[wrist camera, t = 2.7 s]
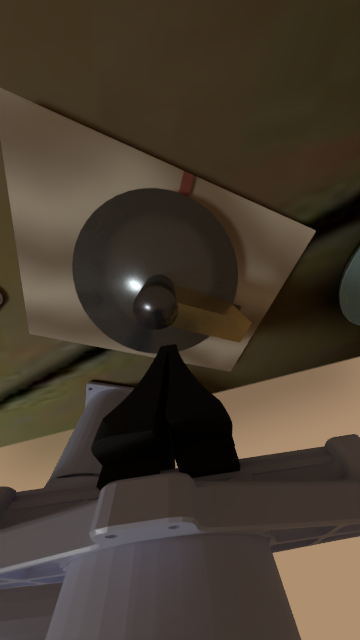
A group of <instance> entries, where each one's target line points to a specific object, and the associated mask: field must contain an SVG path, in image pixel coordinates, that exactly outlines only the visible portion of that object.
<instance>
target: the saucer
mask: <svg viewBox="0 0 360 640" xmlns="http://www.w3.org/2000/svg"><path fill="white" fill-rule="evenodd" d="M339 303H340V307H341V310H342V313H343V314H344V316H345V317H346V318H347V319H348V320H349V321H350V322H352V323H354V324H357V325H360V245H359V247H358V248H357V249H356V250H355V252H354V253H353V255H352V256H351V258H350V259H349V261H348V263H347V265H346V267H345V269H344V271H343V274H342V277H341V280H340V285H339Z"/></svg>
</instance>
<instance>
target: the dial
mask: <svg viewBox="0 0 360 640" xmlns="http://www.w3.org/2000/svg"><path fill="white" fill-rule="evenodd" d="M72 272H73V281H74V285H75V290H76V293H77V296H78V298H79V301H80V303H81V305H82V307H83V309H84V310H85V312H86V314H87V315H88V317H89V318H90V319H91V320H92V322H93V323H94V324H95V325H96V326H97V327H98V328H99V329H100V330H101V331H102V332H103V333H104V334H105V335H107V336H108V337H109V338H111V339H112V340H114V341H116V342H117V343H119V344H121V345H123V346H125V347H127V348H130V349H133V350H136V351H140V352H145V353H152V354H157V353H158V351H159V348H160V347H161V346H165V345H172V344H176V345H177V348H178V351H183V350H186V349H188V348H191V347H193V346H195V345H197V344H199V343H201V342H202V341H204V340H205V339H207V338H208V337H209V336H213V337H218V338H222V339H226V340H230V341H235V342H239V343H240V342H241V340H242V339H243V337H244V335H245V334H246V332H247V330H248V328H249V327H250V325H251V323H252V322H251V321H250V320H248V319H247V318H246V317H245V316H244V315H243V314H242V313H241V312H240V311H239V310H238V309H237V308H236V307H235V306H234V305H233V303H234V299H235V296H236V292H237V285H238V266H237V259H236V255H235V251H234V248H233V245H232V243H231V240H230V238H229V236H228V234H227V233H226V231H225V229H224V227H223V226H222V225H221V223H220V222H219V221H218V220H217V218H216V217H215V216H214V215H213V214H212V213H211V212H210V211H209V210H208V209H207V208H205V207H204V206H202V205H201V204H200V203H198V202H197V201H195V200H193V199H191V198H190V197H188V196H186V195H184V194H181V193H178V192H174V191H171V190H166V189H160V188H142V189H136V190H131V191H127V192H125V193H122V194H119V195H117V196H115V197H113V198H111V199H110V200H108V201H106V202H105V203H103V204H102V205H101V206H100V207H99V208H97V209H96V210H95V211H94V212H93V214H92V215H91V216H90V217H89V218H88V219H87V221H86V222H85V224H84V226H83V227H82V229H81V231H80V233H79V236H78V238H77V241H76V243H75V248H74V253H73V262H72Z"/></svg>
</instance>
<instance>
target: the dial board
mask: <svg viewBox="0 0 360 640" xmlns="http://www.w3.org/2000/svg"><path fill="white" fill-rule="evenodd" d="M0 139H1V146H2V153H3V159H4V166H5V173H6V180H7V186H8V193H9V200H10V206H11V213H12V220H13V227H14V233H15V240H16V247H17V254H18V260H19V267H20V274H21V281H22V287H23V294H24V301H25V308H26V314H27V321H28V328H29V334H33V335H38V336H44V337H49V338H54V339H59V340H65V341H70V342H75V343H81V344H86V345H91V346H97V347H102V348H107V349H113V350H118V351H123V352H128V353H134V354H139V355H144V356H150V357H156V355H157V354H152V353H145V352H140V351H136V350H133V349H130V348H127V347H125V346H123V345H121V344H119V343H117V342H116V341H114V340H112V339H111V338H109V337H108V336H107V335H105V334H104V333H103V332H102V331H101V330H100V329H99V328H98V327H97V326H96V325H95V324H94V323H93V322H92V320H91V319H90V318H89V317H88V315H87V314H86V312H85V310H84V309H83V307H82V305H81V303H80V301H79V298H78V296H77V293H76V290H75V285H74V281H73V272H72V262H73V253H74V248H75V243H76V241H77V238H78V236H79V233H80V231H81V229H82V227H83V226H84V224H85V222H86V221H87V219H88V218H89V217H90V216H91V215H92V214H93V212H94V211H95V210H96V209H97V208H99V207H100V206H101V205H102V204H103V203H105V202H106V201H108V200H110V199H111V198H113V197H115V196H117V195H119V194H122V193H125V192H127V191H131V190H136V189H142V188H160V189H166V190H171V191H174V192H178V193H181V194H184V195H186V196H188V197H190V198H191V199H193V200H195V201H197V202H198V203H200V204H201V205H202V206H204V207H205V208H207V209H208V210H209V211H210V212H211V213H212V214H213V215H214V216H215V217H216V218H217V220H218V221H219V222H220V223H221V225H222V226H223V227H224V229H225V231H226V233H227V234H228V236H229V238H230V240H231V243H232V245H233V248H234V251H235V255H236V259H237V266H238V285H237V292H236V296H235V299H234V303H233V305H234V306H235V307H236V308H237V309H238V310H239V311H240V312H241V313H242V314H243V315H244V316H245V317H246V318H247V319H248V320H250V321H251V322H252V323H251V325H250V327H249V328H248V330H247V332H246V334H245V335H244V337H243V339H242V340H241V342H240V343H239V342H235V341H230V340H226V339H222V338H218V337H213V336H209V337H208V338H207V339H205V340H204V341H202V342H201V343H199V344H197V345H195V346H193V347H191V348H188V349H186V350H183V351H179V354H180V356H181V358H182V359H183V361H184V363H187V364H192V365H197V366H203V367H208V368H213V369H219V370H224V371H229V372H230V371H231V370H232V368H233V366H234V365H235V363H236V362H237V360H238V358H239V357H240V355H241V353H242V352H243V350H244V348H245V347H246V345H247V343H248V342H249V340H250V339H251V337H252V335H253V334H254V332H255V330H256V329H257V327H258V325H259V324H260V322H261V321H262V319H263V317H264V316H265V314H266V312H267V311H268V309H269V307H270V306H271V304H272V302H273V301H274V299H275V298H276V296H277V294H278V293H279V291H280V289H281V288H282V286H283V284H284V283H285V281H286V280H287V278H288V276H289V275H290V273H291V271H292V270H293V268H294V266H295V265H296V263H297V261H298V260H299V258H300V257H301V255H302V253H303V252H304V250H305V248H306V247H307V245H308V243H309V242H310V240H311V238H312V237H313V235H314V234H315V232H316V230H313V229H311V228H309V227H307V226H305V225H302V224H300V223H298V222H296V221H294V220H291V219H289V218H287V217H285V216H282V215H280V214H278V213H276V212H274V211H271V210H269V209H267V208H265V207H263V206H260V205H258V204H256V203H254V202H252V201H249V200H247V199H245V198H243V197H240V196H238V195H236V194H234V193H232V192H229V191H227V190H225V189H223V188H221V187H218V186H216V185H214V184H212V183H210V182H207V181H205V180H203V179H201V178H198V177H196V176H194V175H192V174H190V173H187V172H185V171H183V170H181V169H179V168H176V167H174V166H172V165H170V164H168V163H165V162H163V161H161V160H159V159H157V158H154V157H152V156H150V155H148V154H145V153H143V152H141V151H139V150H137V149H134V148H132V147H130V146H128V145H126V144H123V143H121V142H119V141H117V140H115V139H112V138H110V137H108V136H106V135H103V134H101V133H99V132H97V131H95V130H92V129H90V128H88V127H86V126H84V125H81V124H79V123H77V122H75V121H73V120H70V119H68V118H66V117H64V116H61V115H59V114H57V113H55V112H53V111H50V110H48V109H46V108H44V107H42V106H39V105H37V104H35V103H33V102H31V101H28V100H26V99H24V98H22V97H19V96H17V95H15V94H13V93H11V92H8V91H6V90H4V89H2V88H0Z"/></svg>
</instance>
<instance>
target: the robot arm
mask: <svg viewBox="0 0 360 640" xmlns="http://www.w3.org/2000/svg"><path fill="white" fill-rule="evenodd" d="M234 446H235V444H234V441H233V437H232V422H231V419H230V417H229V415H228V413H227V411H226V409H225V408H224V406H223V404H222V403H221V402H220V400H218V399H217V398H216V397H215V396H214V395H212V394H211V393H210V392H209V391H208V390H207V389H206V388H205V387H204V386H203V385H202V384H201V383H200V382H199V381H198V380H197V379H196V378H195V377H194V375H193V374H192V373H191V372H190V370H189V369H188V368H187V366H186V364H185V363H184V361H183V359H182V358H181V356H180V354H179V351H178V348H177V345H176V344H172V345H165V346H161V347H160V348H159V351H158V353H157V355H156V357H155V359H154V361H153V363H152V364H151V366H150V368H149V369H148V371H147V372H146V374H145V375H144V377H143V378H142V380H141V381H140V382H139V383H138V385H137V386H136V387H135V388H133V387H126V386H119V385H112V384H105V383H98V382H88V384H87V387H86V405H85V410H84V412H83V414H82V416H81V418H80V419H79V421H78V423H77V425H76V427H75V429H74V432H73V433H72V435H71V437H70V439H69V441H68V443H67V445H66V447H65V449H64V451H63V453H62V455H61V457H60V459H59V461H58V463H57V465H56V467H55V469H54V471H53V473H52V475H51V477H50V479H49V481H48V482H47V484H46V486H45V487H44V488H42V489H36V490H28V491H21V492H16V490H14V489H12V488H10V487H0V640H301V638H300V635H299V632H298V629H297V626H296V623H295V620H294V617H293V614H292V611H291V608H290V605H289V602H288V599H287V596H286V593H285V590H284V587H283V584H282V581H281V578H280V575H279V572H278V569H277V566H276V563H275V560H274V557H273V554H272V553H274V552H279V551H284V550H290V549H295V548H300V547H305V546H310V545H315V544H321V543H326V542H331V541H336V540H341V539H347V538H352V537H358V536H360V438H359V437H358V435H355V434H352V435H345V436H339V437H334V438H331V439H329V440H328V441H327V442H326V444H325V446H324V447H318V448H311V449H304V450H297V451H290V452H284V453H277V454H271V455H264V456H257V457H250V458H243V459H238V456H237V453H236V450H235V447H234ZM175 460H176V463H177V466H178V468H176V469H175Z"/></svg>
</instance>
